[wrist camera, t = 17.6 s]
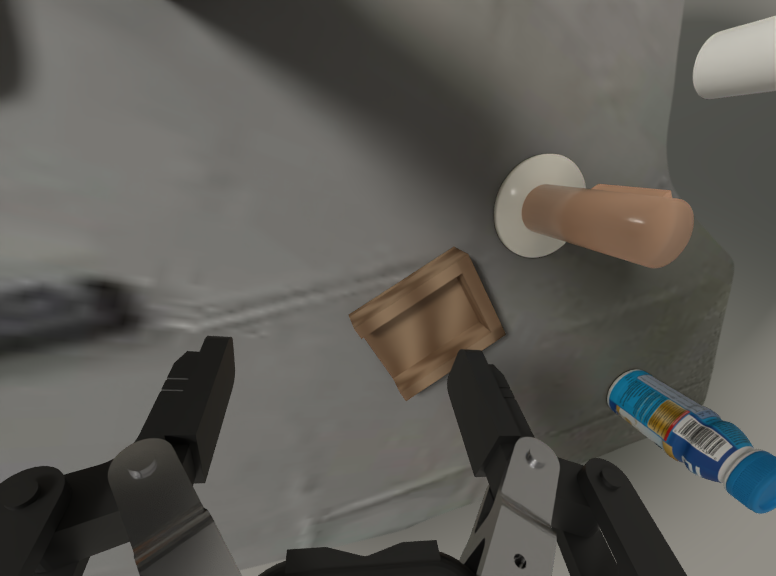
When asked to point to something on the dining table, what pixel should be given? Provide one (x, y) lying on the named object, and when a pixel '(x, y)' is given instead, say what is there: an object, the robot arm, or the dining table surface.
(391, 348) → the cradle
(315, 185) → the dining table surface
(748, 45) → the cylindrical container
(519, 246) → the coaster
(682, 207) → the tall peach pillar
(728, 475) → the beverage bottle
